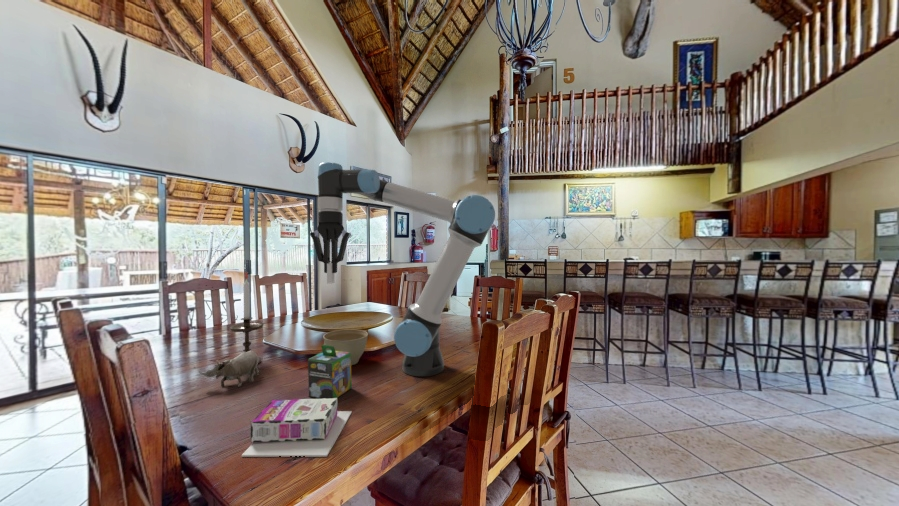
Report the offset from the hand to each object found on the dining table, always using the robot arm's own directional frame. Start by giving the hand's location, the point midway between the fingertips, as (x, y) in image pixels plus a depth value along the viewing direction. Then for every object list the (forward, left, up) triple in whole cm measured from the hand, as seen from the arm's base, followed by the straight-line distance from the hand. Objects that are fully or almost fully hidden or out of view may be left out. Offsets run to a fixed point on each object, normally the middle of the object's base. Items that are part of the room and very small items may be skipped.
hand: (330, 282), depth 107 cm
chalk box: (-3, +9, -33) cm, 34 cm away
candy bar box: (+6, +30, -30) cm, 42 cm away
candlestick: (+37, -15, -33) cm, 52 cm away
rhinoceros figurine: (+30, +3, -33) cm, 44 cm away
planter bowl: (0, -16, -33) cm, 36 cm away
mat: (-4, +30, -32) cm, 44 cm away
